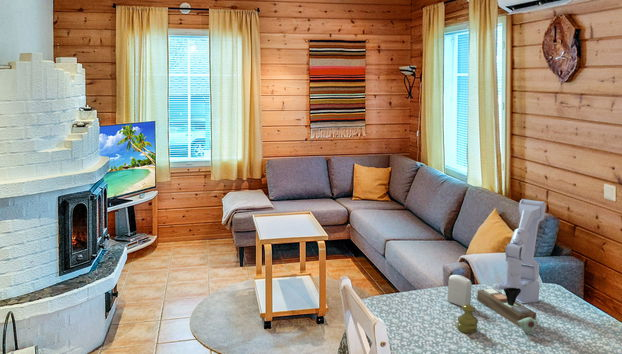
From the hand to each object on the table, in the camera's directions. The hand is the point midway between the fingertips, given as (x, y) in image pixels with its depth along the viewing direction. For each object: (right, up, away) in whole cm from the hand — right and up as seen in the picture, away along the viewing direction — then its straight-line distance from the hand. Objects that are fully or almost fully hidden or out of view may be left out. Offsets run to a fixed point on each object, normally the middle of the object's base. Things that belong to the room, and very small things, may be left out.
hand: (510, 304), depth 237 cm
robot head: (+1, -8, -17) cm, 18 cm away
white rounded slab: (-18, -2, +11) cm, 22 cm away
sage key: (0, -2, 0) cm, 2 cm away
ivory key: (-4, +1, +12) cm, 13 cm away
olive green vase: (-21, -7, -14) cm, 26 cm away
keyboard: (-1, -4, +4) cm, 5 cm away
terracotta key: (-2, 0, +6) cm, 7 cm away
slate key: (+2, -2, -6) cm, 7 cm away
